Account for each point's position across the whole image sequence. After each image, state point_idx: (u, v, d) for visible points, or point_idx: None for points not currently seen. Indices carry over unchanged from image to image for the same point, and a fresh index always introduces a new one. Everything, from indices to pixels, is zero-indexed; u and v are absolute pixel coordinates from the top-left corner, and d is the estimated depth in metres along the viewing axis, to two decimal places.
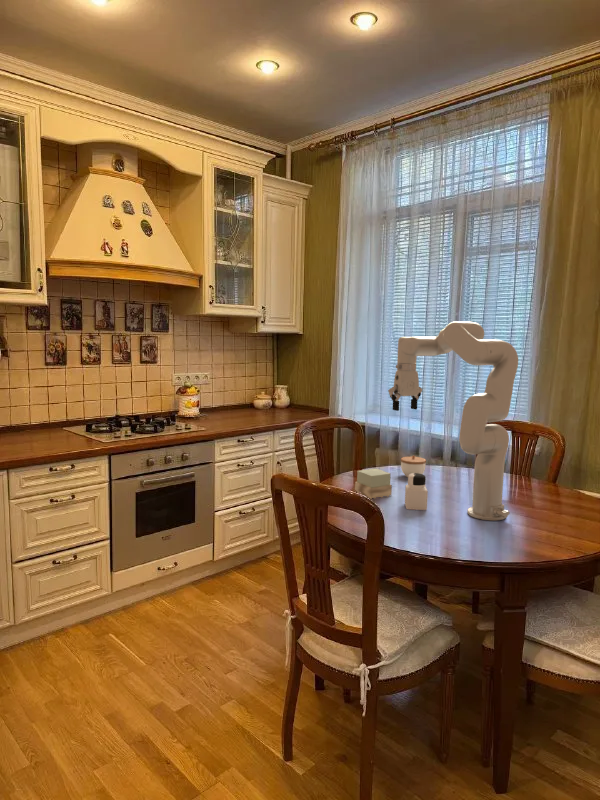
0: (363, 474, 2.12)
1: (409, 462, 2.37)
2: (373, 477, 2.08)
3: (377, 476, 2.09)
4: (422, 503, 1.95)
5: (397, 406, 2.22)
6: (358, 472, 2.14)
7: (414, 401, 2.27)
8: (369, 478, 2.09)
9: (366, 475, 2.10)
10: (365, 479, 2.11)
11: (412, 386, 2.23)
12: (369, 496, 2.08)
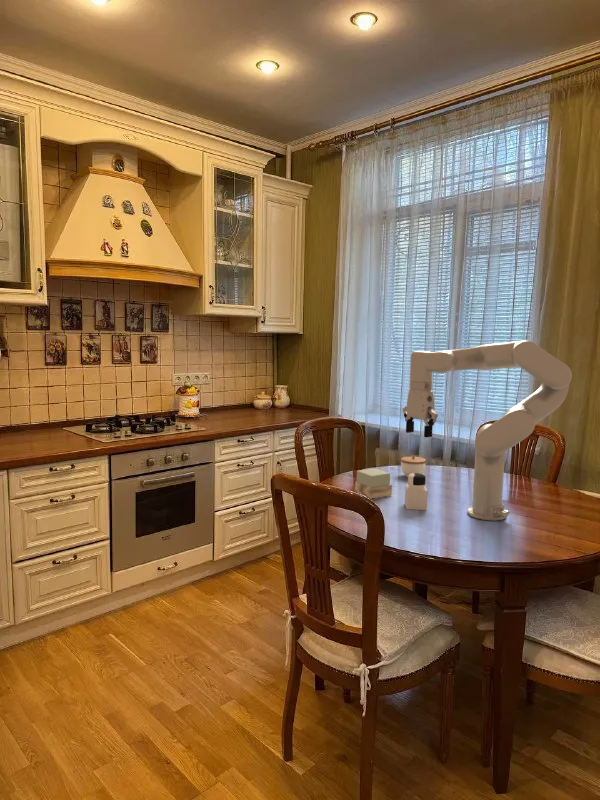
0: (363, 474, 2.12)
1: (409, 462, 2.37)
2: (373, 477, 2.08)
3: (377, 476, 2.09)
4: (422, 503, 1.95)
5: None
6: (358, 472, 2.14)
7: (412, 423, 2.00)
8: (369, 478, 2.09)
9: (366, 475, 2.10)
10: (365, 479, 2.11)
11: None
12: (369, 496, 2.08)
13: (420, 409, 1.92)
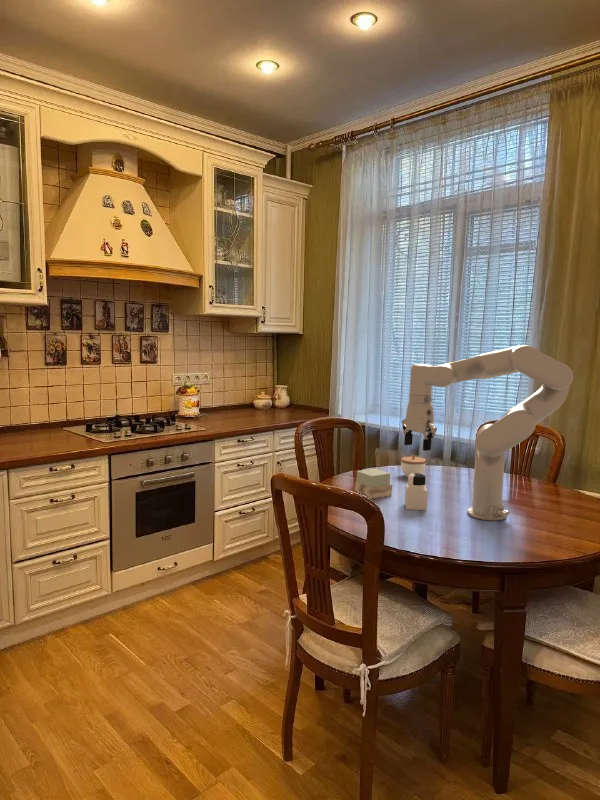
0: (363, 474, 2.12)
1: (409, 462, 2.37)
2: (373, 477, 2.08)
3: (377, 476, 2.09)
4: (422, 503, 1.95)
5: None
6: (358, 472, 2.14)
7: (410, 436, 2.00)
8: (369, 478, 2.09)
9: (366, 475, 2.10)
10: (365, 479, 2.11)
11: None
12: (369, 496, 2.08)
13: (419, 422, 1.92)
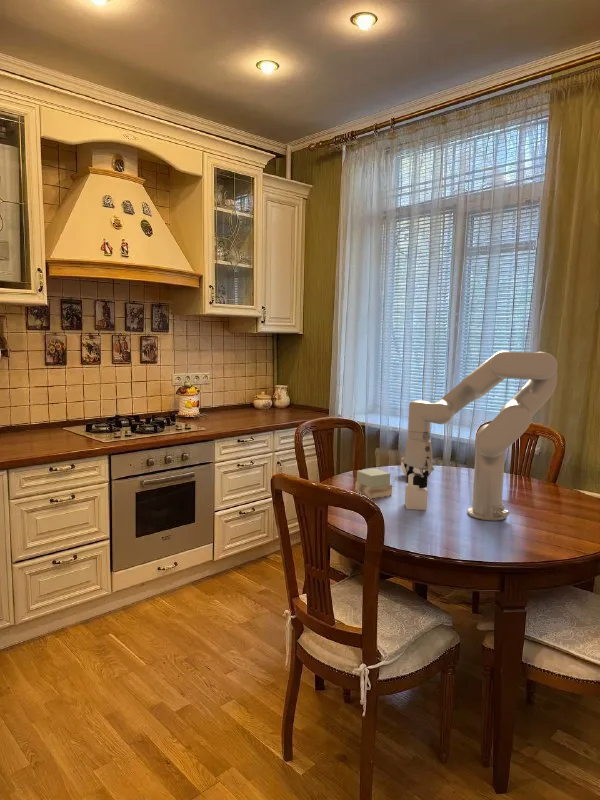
0: (363, 474, 2.12)
1: None
2: (373, 477, 2.08)
3: (377, 476, 2.09)
4: (422, 503, 1.95)
5: None
6: (358, 472, 2.14)
7: None
8: (369, 478, 2.08)
9: (366, 475, 2.10)
10: (365, 479, 2.11)
11: None
12: (369, 496, 2.08)
13: (418, 459, 1.93)
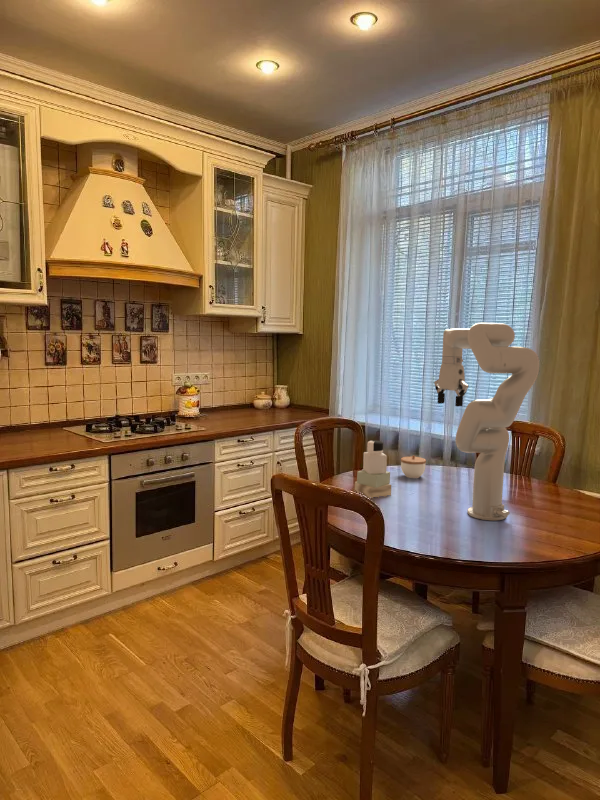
0: (365, 474, 2.11)
1: (409, 462, 2.37)
2: (377, 477, 2.08)
3: (380, 476, 2.10)
4: (382, 467, 2.11)
5: None
6: (358, 473, 2.14)
7: (443, 395, 2.22)
8: (373, 478, 2.09)
9: (369, 475, 2.10)
10: (368, 479, 2.11)
11: None
12: (369, 496, 2.09)
13: (452, 381, 2.13)
